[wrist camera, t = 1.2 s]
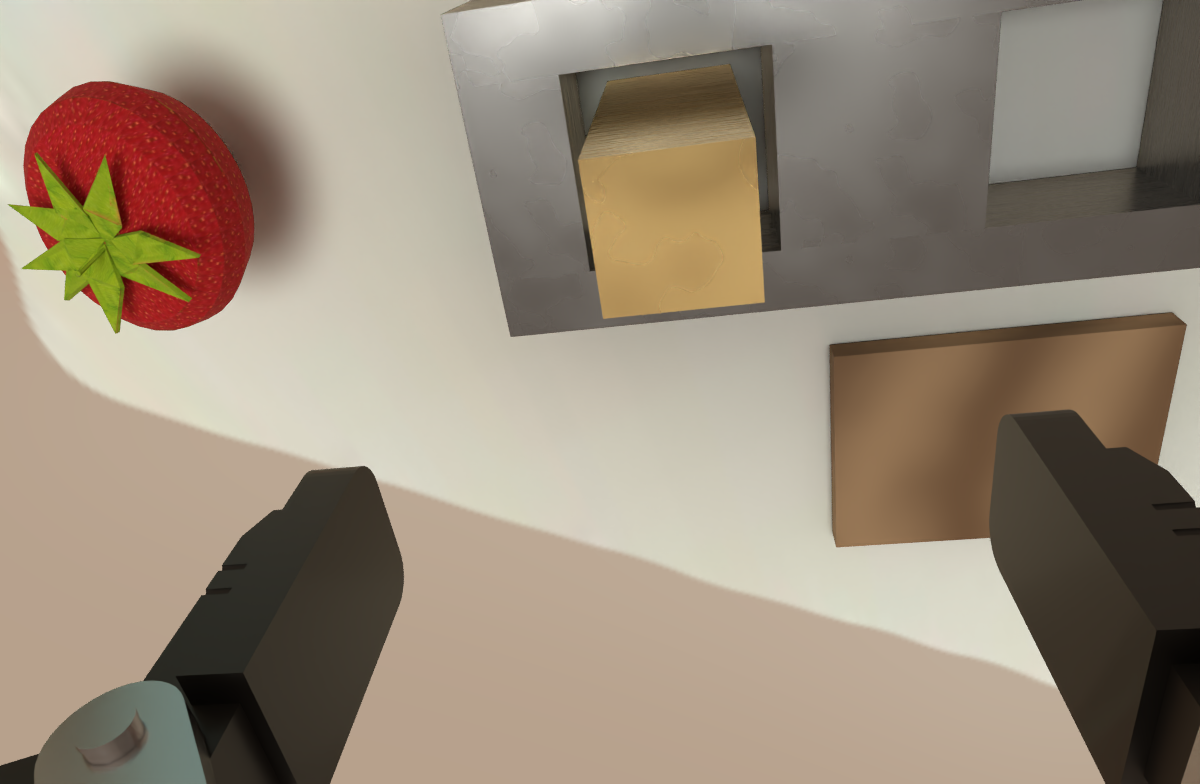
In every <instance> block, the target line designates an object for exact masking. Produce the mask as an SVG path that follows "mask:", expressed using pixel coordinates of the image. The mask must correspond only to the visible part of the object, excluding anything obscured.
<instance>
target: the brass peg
mask: <svg viewBox="0 0 1200 784" xmlns="http://www.w3.org/2000/svg"><path fill="white" fill-rule="evenodd" d="M578 163H579V169H580V175H581V182H582V188H583V194H584V201H585V207H586V213H587V220H588V226H589V233H590V239H591V245H592V252H593V258H594V264H595V271H596V277H597V283H598V290H599V296H600V302H601V309H602V315H603V319H607V318H617V317H626V316H636V315H646V314H656V313H666V312H676V311H685V310H695V309H705V308H715V307H725V306H734V305H744V304H754V303H764V302H765V297H764V279H763V261H762V243H761V225H760V207H759V190H758V172H757V154H756V137H755V134H754V131H753V128H752V126H751V123H750V120H749V117H748V114H747V111H746V109H745V106H744V103H743V100H742V97H741V94H740V92H739V89H738V86H737V83H736V80H735V77H734V75H733V72H732V69H731V66H730V64H726V65H719V66H712V67H705V68H698V69H691V70H684V71H676V72H669V73H662V74H655V75H648V76H641V77H634V78H627V79H619V80H612V81H607V84H606V87H605V89H604V92H603V95H602V97H601V100H600V103H599V105H598V108H597V111H596V113H595V116H594V119H593V121H592V124H591V127H590V129H589V132H588V135H587V137H586V140H585V143H584V145H583V148H582V151H581V154H580V156H579V159H578Z"/></svg>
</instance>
